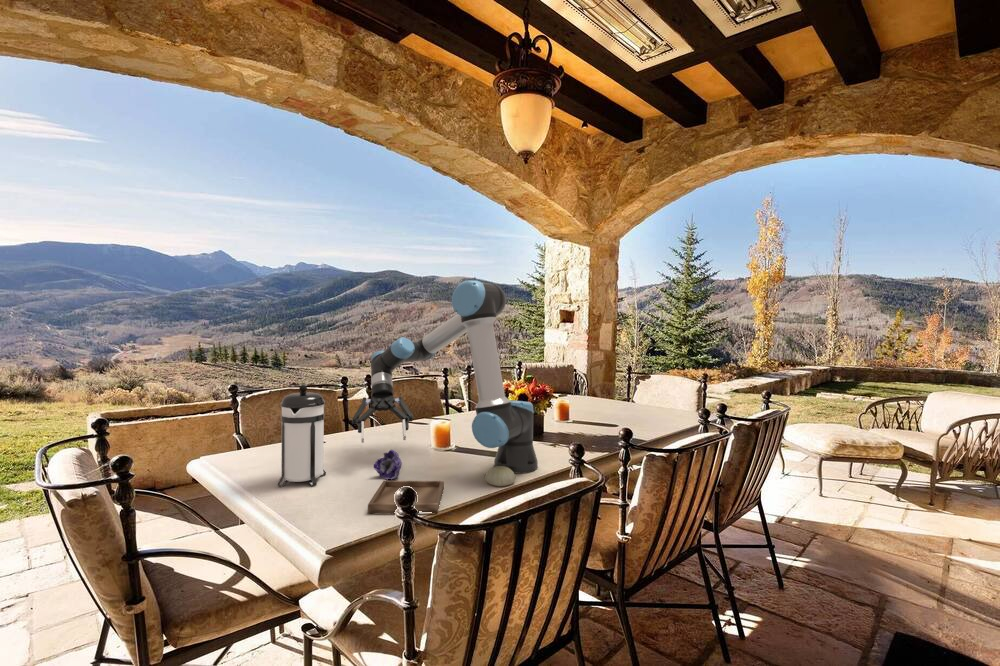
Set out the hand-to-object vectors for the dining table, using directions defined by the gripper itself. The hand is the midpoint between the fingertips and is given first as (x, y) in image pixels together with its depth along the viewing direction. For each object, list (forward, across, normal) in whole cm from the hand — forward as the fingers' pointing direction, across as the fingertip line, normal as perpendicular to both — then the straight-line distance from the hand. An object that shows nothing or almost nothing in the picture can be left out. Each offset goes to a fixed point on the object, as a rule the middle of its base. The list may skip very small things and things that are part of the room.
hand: (383, 439), depth 152 cm
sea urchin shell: (+22, -34, +6) cm, 41 cm away
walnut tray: (+27, -5, +12) cm, 30 cm away
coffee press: (+9, +25, -7) cm, 27 cm away
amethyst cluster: (+12, -2, -4) cm, 12 cm away
